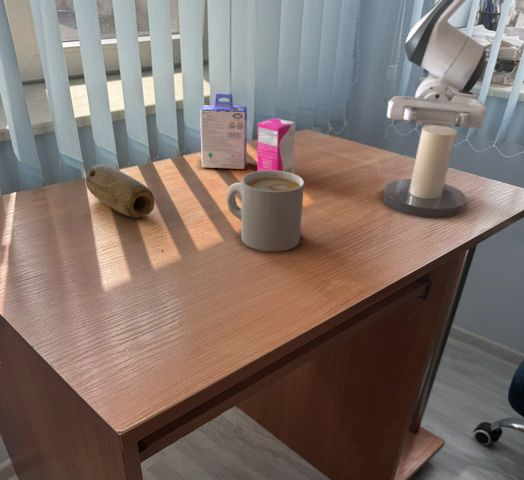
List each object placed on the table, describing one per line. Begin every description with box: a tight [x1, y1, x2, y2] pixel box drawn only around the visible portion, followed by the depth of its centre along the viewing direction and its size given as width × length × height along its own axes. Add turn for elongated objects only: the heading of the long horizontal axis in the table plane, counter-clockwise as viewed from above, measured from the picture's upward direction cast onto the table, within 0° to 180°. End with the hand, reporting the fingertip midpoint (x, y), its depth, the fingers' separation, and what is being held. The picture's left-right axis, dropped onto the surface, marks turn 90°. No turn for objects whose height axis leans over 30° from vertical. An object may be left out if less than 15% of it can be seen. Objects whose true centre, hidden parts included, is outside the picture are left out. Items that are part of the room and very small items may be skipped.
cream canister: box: [409, 125, 458, 199], centre depth 100 cm, size 6×6×12 cm
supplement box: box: [256, 117, 296, 174], centre depth 109 cm, size 6×6×12 cm
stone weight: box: [85, 164, 155, 218], centre depth 95 cm, size 15×7×7 cm, turn 49°
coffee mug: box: [226, 170, 305, 252], centre depth 87 cm, size 13×10×10 cm
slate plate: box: [382, 178, 467, 219], centre depth 104 cm, size 16×16×2 cm
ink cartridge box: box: [199, 93, 248, 170], centre depth 114 cm, size 10×6×14 cm, turn 89°
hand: (435, 120), depth 106 cm, fingers open, 8 cm apart
